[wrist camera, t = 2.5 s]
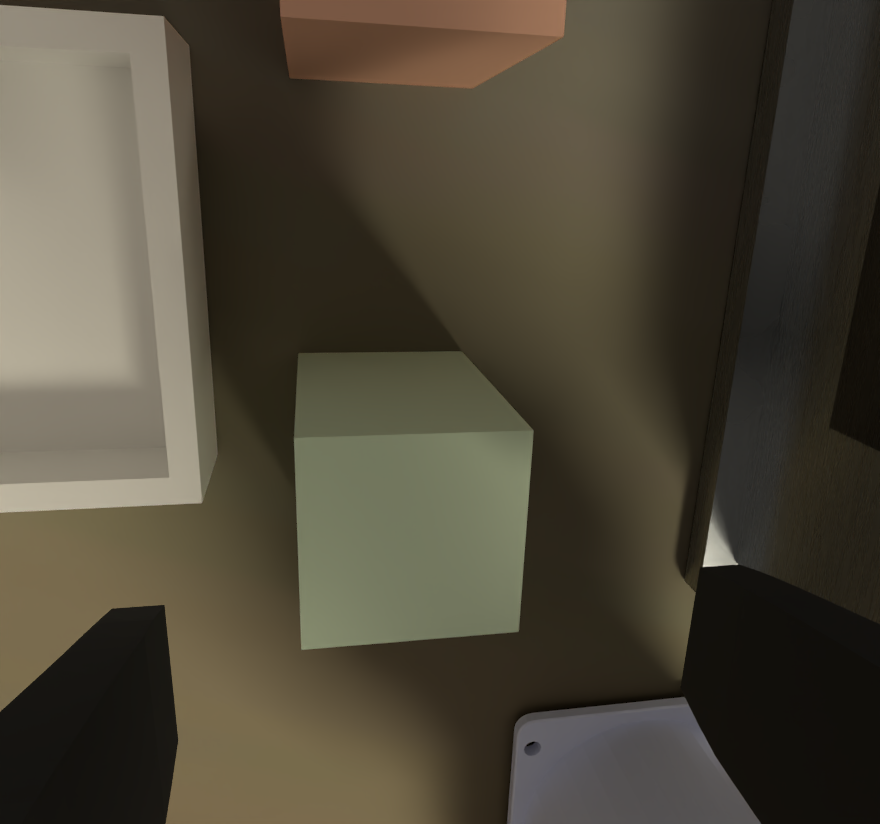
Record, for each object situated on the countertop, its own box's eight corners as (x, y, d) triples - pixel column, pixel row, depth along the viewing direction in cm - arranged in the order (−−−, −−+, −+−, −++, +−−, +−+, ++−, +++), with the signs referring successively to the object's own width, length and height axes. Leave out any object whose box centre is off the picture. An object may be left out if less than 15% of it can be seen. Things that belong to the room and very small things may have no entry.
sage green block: (455, 497, 19) (518, 631, 13) (302, 505, 18) (301, 649, 13) (461, 351, 18) (533, 430, 12) (298, 352, 17) (294, 437, 11)
